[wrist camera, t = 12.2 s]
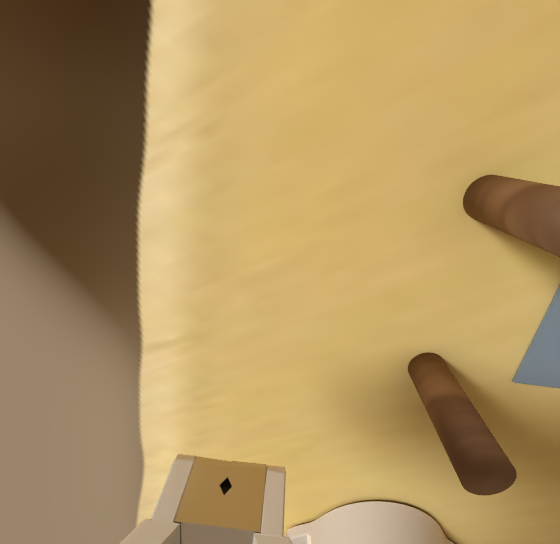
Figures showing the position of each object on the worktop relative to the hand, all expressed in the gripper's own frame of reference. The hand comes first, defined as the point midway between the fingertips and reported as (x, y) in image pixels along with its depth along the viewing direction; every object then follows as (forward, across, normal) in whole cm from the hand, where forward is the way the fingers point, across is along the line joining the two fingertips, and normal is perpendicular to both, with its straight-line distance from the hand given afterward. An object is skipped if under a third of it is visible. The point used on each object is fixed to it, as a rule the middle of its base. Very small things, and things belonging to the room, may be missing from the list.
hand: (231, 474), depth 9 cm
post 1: (+15, +13, -7) cm, 21 cm away
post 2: (+15, +13, +7) cm, 21 cm away
